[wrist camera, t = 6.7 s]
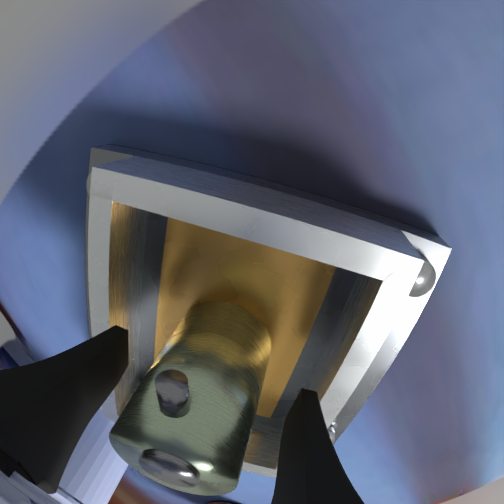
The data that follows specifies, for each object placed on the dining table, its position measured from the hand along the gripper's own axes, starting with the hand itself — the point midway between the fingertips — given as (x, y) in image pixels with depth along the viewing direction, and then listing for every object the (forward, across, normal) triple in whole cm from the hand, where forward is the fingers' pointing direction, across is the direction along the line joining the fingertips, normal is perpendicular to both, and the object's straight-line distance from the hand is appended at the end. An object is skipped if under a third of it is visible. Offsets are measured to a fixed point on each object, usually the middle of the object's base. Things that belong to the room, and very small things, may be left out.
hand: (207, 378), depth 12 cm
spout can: (+3, 0, 0) cm, 3 cm away
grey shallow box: (+5, 0, 0) cm, 5 cm away
